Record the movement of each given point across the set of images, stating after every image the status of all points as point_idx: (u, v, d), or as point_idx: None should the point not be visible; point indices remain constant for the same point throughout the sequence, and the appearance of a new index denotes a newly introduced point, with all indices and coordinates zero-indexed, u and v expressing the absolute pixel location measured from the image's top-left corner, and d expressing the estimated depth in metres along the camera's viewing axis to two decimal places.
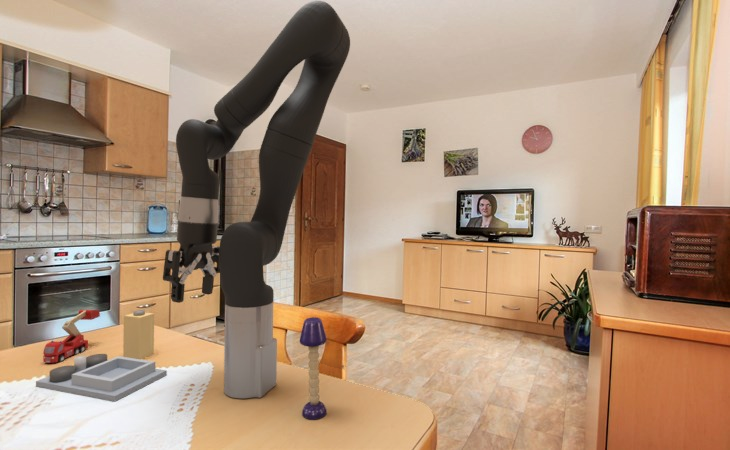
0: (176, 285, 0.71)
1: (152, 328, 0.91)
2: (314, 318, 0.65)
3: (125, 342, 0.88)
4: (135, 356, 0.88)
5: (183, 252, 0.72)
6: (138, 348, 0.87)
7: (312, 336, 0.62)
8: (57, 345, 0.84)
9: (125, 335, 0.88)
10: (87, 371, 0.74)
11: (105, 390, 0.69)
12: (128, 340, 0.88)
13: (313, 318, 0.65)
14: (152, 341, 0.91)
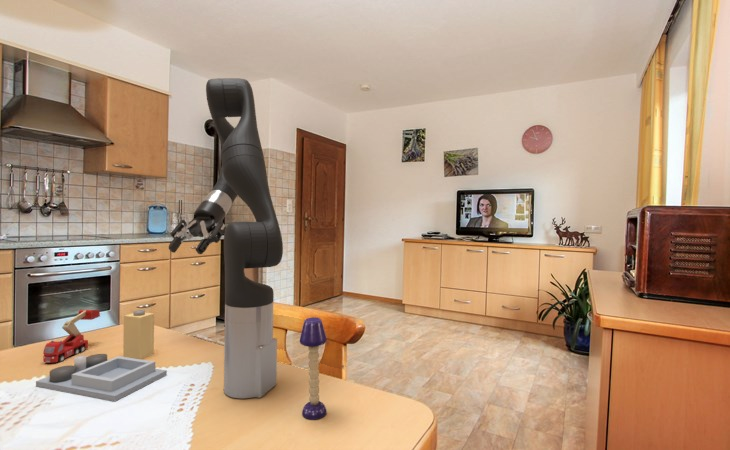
0: None
1: (152, 328, 0.91)
2: (314, 318, 0.65)
3: (125, 342, 0.88)
4: (135, 356, 0.88)
5: (189, 222, 1.05)
6: (138, 348, 0.87)
7: (312, 336, 0.62)
8: (57, 345, 0.84)
9: (125, 335, 0.88)
10: (87, 371, 0.74)
11: (105, 390, 0.69)
12: (128, 340, 0.88)
13: (313, 318, 0.65)
14: (152, 341, 0.91)
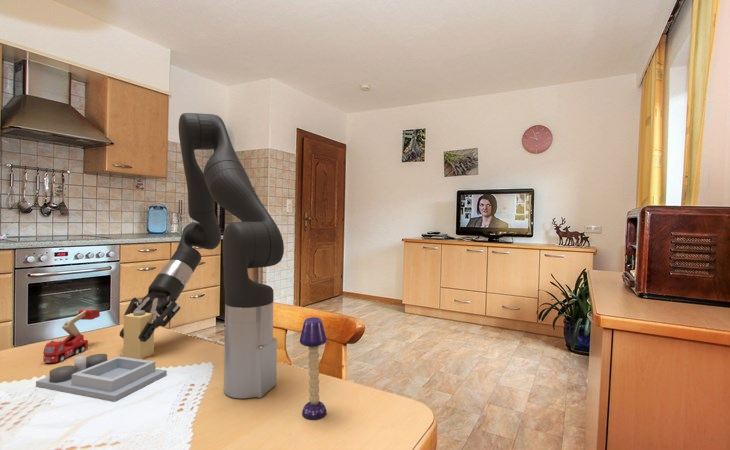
0: None
1: None
2: (314, 318, 0.65)
3: (125, 342, 0.88)
4: (135, 356, 0.88)
5: None
6: (138, 348, 0.87)
7: (312, 336, 0.62)
8: (57, 345, 0.84)
9: (125, 335, 0.88)
10: (87, 371, 0.74)
11: (105, 390, 0.69)
12: (128, 340, 0.88)
13: (313, 318, 0.65)
14: (152, 341, 0.91)
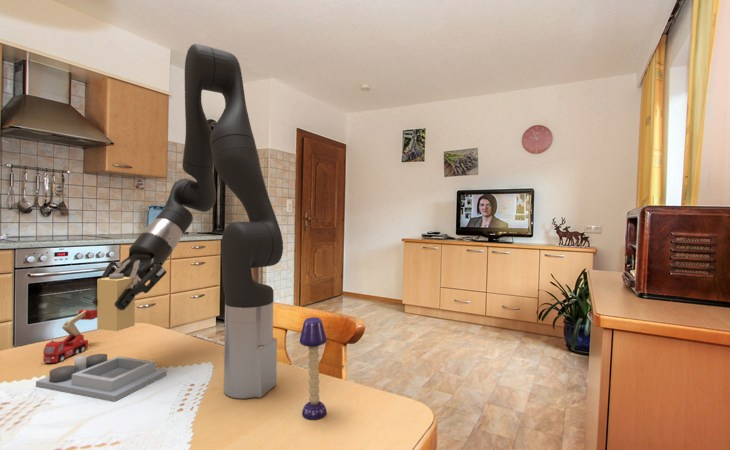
0: None
1: None
2: (314, 318, 0.65)
3: (99, 311, 0.74)
4: (111, 327, 0.73)
5: (123, 263, 0.81)
6: (114, 318, 0.72)
7: (312, 336, 0.62)
8: (57, 345, 0.84)
9: (99, 302, 0.74)
10: (87, 371, 0.74)
11: (105, 390, 0.69)
12: (102, 309, 0.73)
13: (313, 318, 0.65)
14: (132, 310, 0.76)
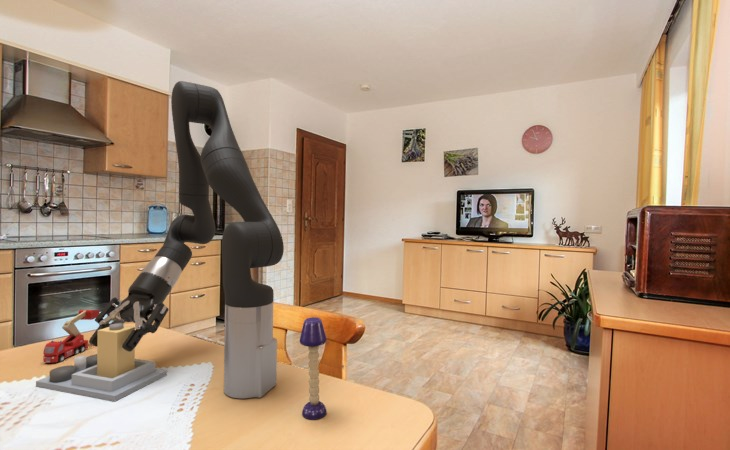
0: None
1: None
2: (314, 318, 0.65)
3: (99, 362, 0.74)
4: None
5: None
6: (115, 370, 0.73)
7: (312, 336, 0.62)
8: (57, 345, 0.84)
9: (99, 354, 0.74)
10: (87, 371, 0.74)
11: (105, 390, 0.69)
12: (102, 360, 0.73)
13: (313, 318, 0.65)
14: (132, 360, 0.76)
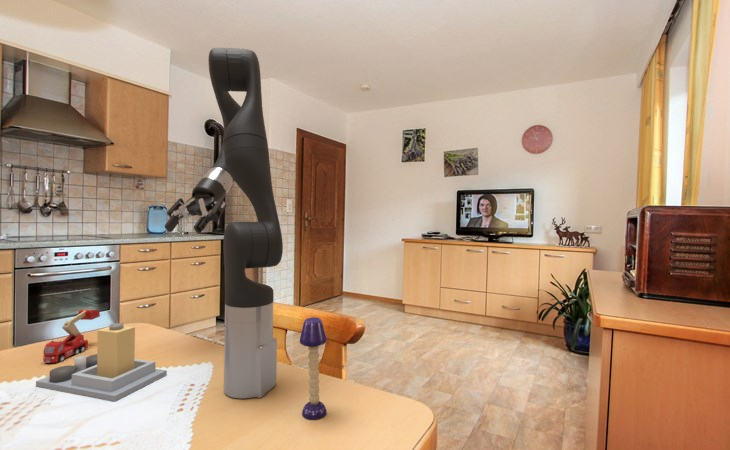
0: None
1: (132, 345, 0.76)
2: (314, 318, 0.65)
3: (99, 362, 0.74)
4: None
5: (188, 201, 0.98)
6: (115, 370, 0.73)
7: (312, 336, 0.62)
8: (57, 345, 0.84)
9: (99, 354, 0.74)
10: (87, 371, 0.74)
11: (105, 390, 0.69)
12: (102, 360, 0.73)
13: (313, 318, 0.65)
14: (132, 360, 0.76)
